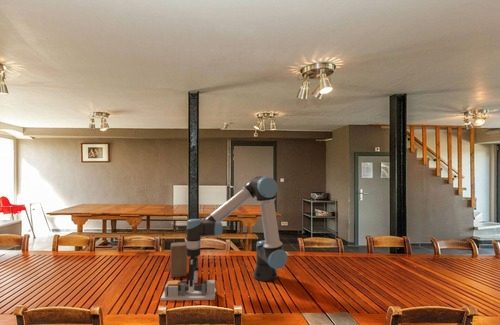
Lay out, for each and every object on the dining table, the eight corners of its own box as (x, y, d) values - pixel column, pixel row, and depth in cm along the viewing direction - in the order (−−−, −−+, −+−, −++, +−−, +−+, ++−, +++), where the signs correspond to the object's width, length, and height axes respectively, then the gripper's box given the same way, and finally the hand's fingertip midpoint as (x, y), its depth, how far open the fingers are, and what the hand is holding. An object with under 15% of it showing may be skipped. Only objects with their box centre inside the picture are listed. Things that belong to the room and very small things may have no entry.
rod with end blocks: (214, 291, 170) (214, 280, 170) (214, 294, 165) (214, 283, 165) (169, 291, 169) (170, 280, 169) (167, 295, 164) (168, 283, 164)
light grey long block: (215, 290, 173) (216, 277, 173) (214, 299, 161) (214, 285, 161) (165, 291, 172) (165, 278, 172) (160, 300, 160) (160, 286, 160)
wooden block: (170, 278, 193) (171, 246, 193) (170, 273, 202) (170, 242, 203) (186, 276, 195) (187, 245, 196) (185, 271, 205) (186, 241, 206)
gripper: (190, 242, 180) (189, 279, 179) (182, 254, 155) (182, 296, 154) (202, 242, 180) (202, 278, 179) (197, 254, 155) (197, 296, 154)
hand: (193, 287), depth 167 cm, fingers open, 13 cm apart
